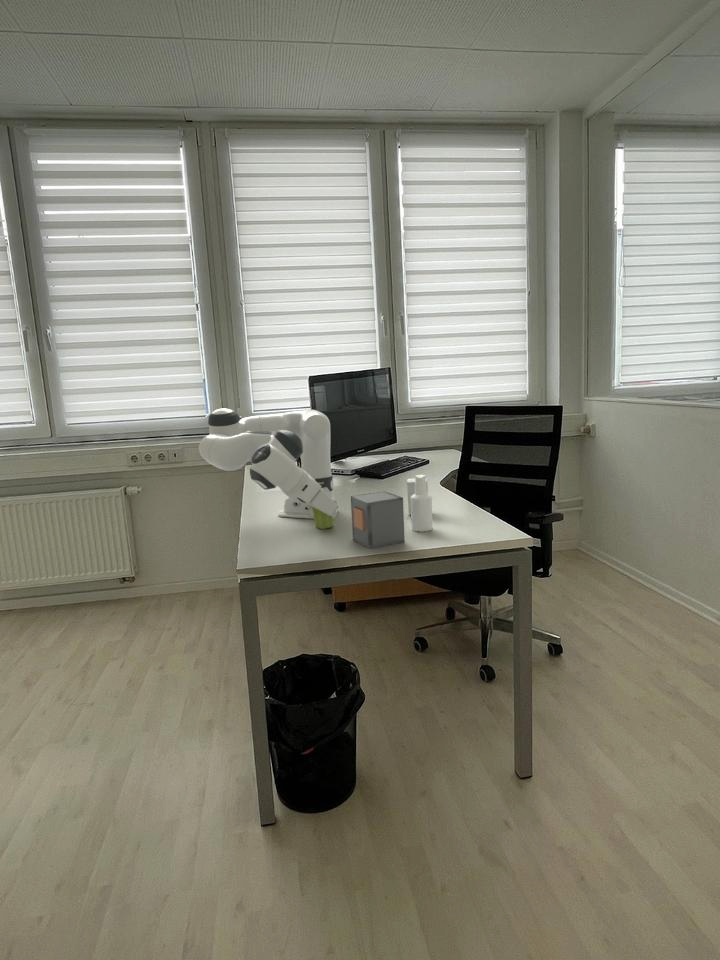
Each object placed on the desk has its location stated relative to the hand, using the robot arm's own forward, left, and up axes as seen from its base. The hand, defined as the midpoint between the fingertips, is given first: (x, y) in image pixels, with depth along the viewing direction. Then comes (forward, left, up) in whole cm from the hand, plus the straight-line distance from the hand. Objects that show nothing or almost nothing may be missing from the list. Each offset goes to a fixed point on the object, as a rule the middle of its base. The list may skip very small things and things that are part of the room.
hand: (334, 515), depth 178 cm
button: (+8, +7, -5) cm, 12 cm away
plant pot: (-11, +25, -11) cm, 29 cm away
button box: (+11, +9, -10) cm, 18 cm away
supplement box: (+19, +45, -11) cm, 50 cm away
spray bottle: (+23, +23, -11) cm, 35 cm away
